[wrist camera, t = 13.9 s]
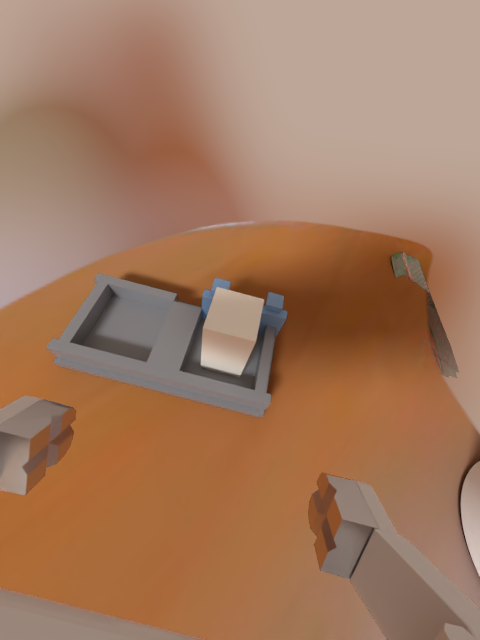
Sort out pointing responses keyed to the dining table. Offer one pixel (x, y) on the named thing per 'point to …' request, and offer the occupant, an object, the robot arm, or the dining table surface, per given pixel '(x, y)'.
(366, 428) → the dining table surface
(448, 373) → the map
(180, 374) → the two-compartment grey tray
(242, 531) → the dining table surface
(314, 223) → the dining table surface
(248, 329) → the white rectangular block
